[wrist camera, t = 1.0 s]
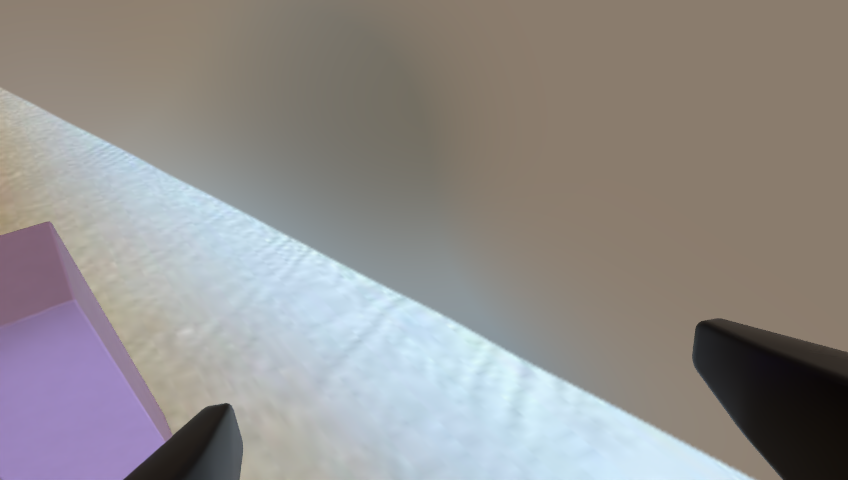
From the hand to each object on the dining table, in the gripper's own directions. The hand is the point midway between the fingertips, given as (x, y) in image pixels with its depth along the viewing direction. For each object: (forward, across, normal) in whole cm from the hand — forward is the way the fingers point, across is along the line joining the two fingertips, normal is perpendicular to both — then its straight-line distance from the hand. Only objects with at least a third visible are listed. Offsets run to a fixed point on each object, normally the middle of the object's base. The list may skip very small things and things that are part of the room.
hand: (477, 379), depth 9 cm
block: (+11, +14, +10) cm, 21 cm away
